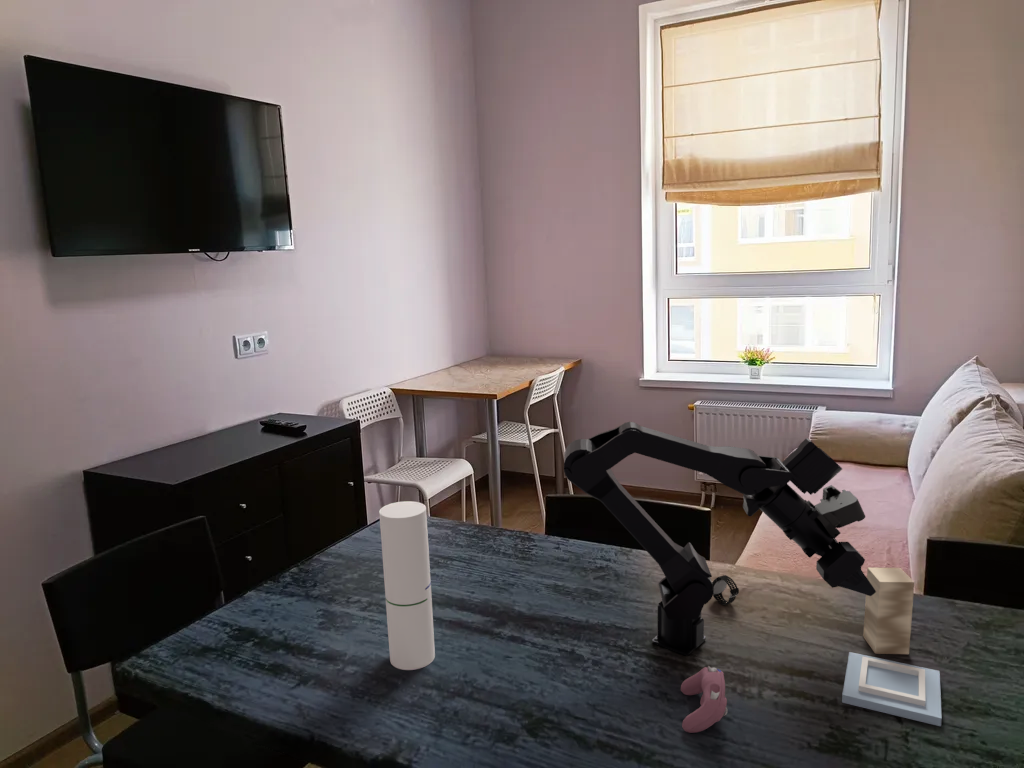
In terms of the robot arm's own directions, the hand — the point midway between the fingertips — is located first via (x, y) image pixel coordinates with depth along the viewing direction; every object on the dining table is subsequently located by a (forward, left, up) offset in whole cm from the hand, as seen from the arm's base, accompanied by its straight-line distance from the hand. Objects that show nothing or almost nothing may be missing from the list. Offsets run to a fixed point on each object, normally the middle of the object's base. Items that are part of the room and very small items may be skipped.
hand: (861, 579), depth 115 cm
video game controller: (-11, -31, -11) cm, 35 cm away
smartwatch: (-23, -1, -11) cm, 25 cm away
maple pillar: (+3, +2, -11) cm, 12 cm away
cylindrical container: (-54, -47, -11) cm, 72 cm away
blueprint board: (+7, -10, -11) cm, 16 cm away
